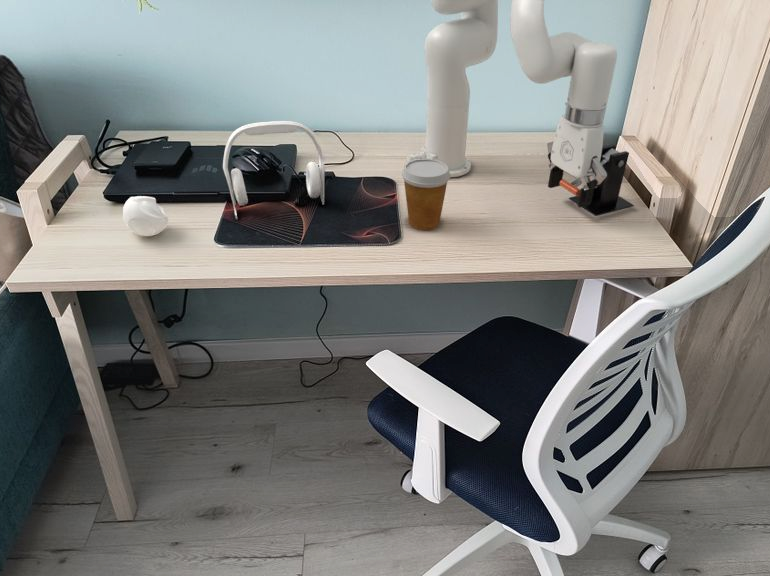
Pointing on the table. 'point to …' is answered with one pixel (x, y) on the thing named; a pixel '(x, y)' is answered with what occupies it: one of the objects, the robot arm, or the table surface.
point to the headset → (312, 171)
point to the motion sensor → (144, 216)
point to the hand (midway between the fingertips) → (568, 195)
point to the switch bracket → (609, 185)
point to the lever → (573, 186)
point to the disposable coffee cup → (425, 191)
